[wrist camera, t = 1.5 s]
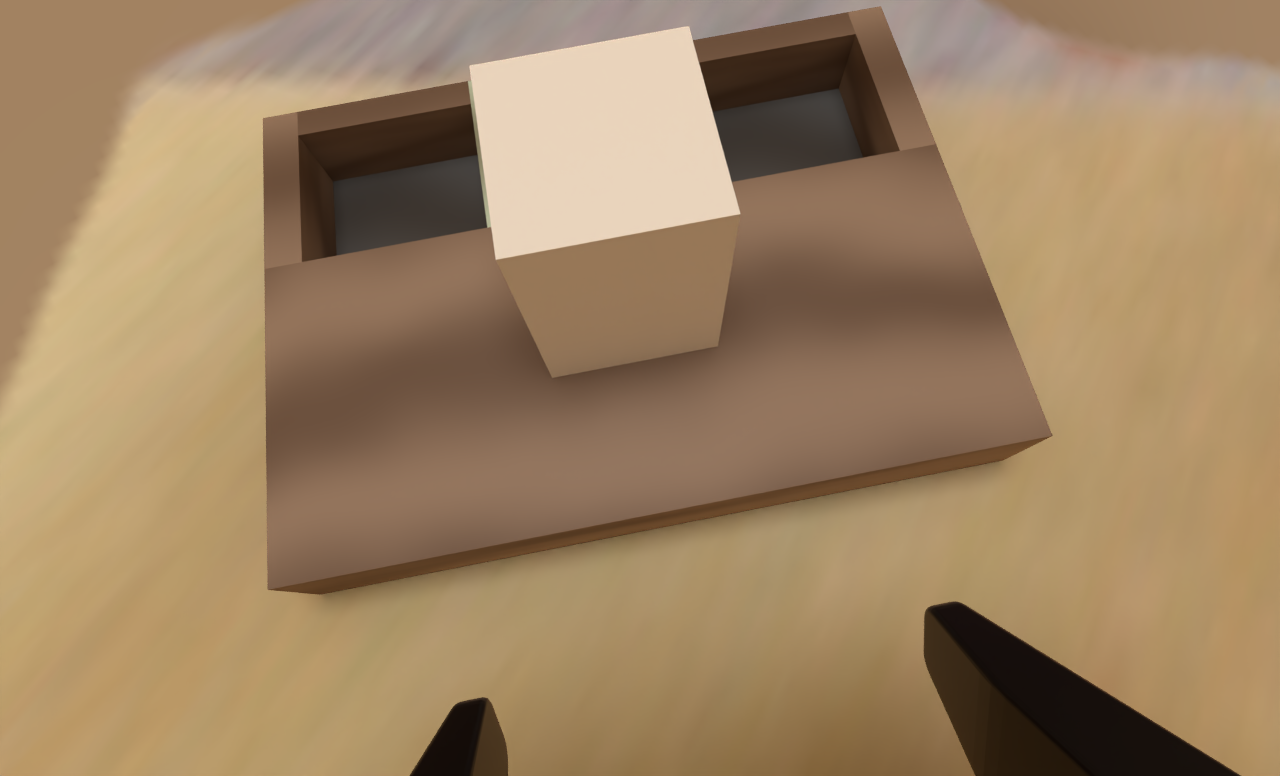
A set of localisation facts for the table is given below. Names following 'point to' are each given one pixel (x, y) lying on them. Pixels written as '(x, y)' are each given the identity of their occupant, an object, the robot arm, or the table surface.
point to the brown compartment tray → (635, 392)
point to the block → (608, 198)
